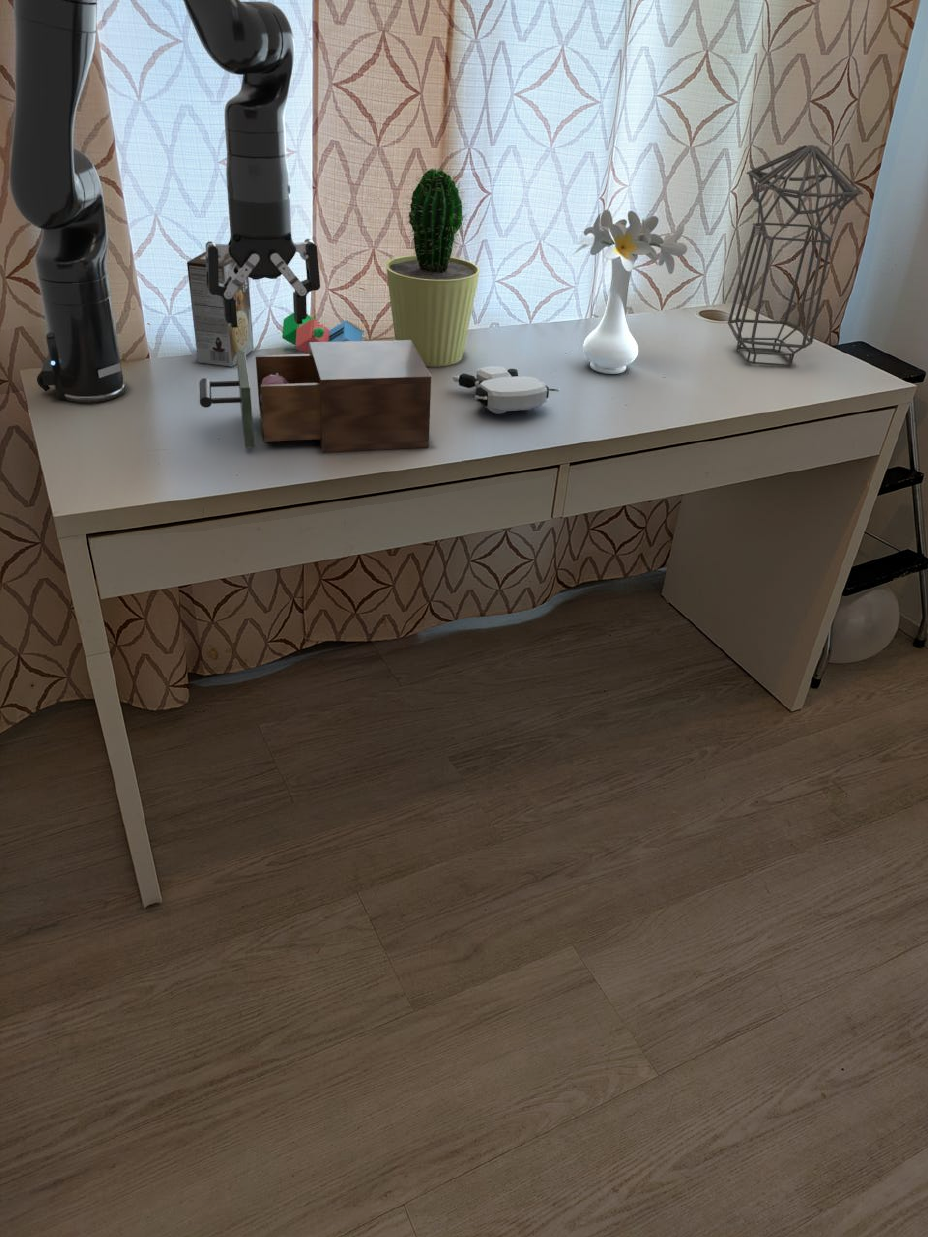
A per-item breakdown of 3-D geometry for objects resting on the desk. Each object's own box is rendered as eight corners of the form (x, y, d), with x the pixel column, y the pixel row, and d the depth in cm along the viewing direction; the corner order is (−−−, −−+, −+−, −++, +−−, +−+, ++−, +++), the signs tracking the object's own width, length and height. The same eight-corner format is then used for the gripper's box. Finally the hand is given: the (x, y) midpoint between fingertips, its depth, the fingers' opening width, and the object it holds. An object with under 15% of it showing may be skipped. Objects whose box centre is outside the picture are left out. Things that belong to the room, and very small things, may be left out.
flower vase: (675, 372, 166) (703, 218, 152) (587, 386, 158) (609, 225, 144) (629, 348, 176) (651, 200, 162) (544, 360, 168) (560, 206, 154)
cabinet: (322, 452, 133) (320, 379, 127) (311, 410, 144) (309, 342, 139) (428, 447, 136) (431, 376, 130) (409, 406, 148) (411, 339, 142)
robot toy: (447, 394, 155) (486, 424, 143) (447, 366, 152) (487, 394, 140) (516, 386, 159) (559, 415, 147) (517, 359, 157) (562, 385, 145)
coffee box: (219, 345, 165) (210, 246, 156) (254, 349, 164) (248, 251, 155) (196, 362, 158) (185, 260, 149) (233, 367, 157) (225, 265, 148)
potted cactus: (366, 349, 167) (366, 159, 150) (435, 334, 176) (443, 153, 159) (422, 377, 158) (428, 178, 141) (492, 360, 166) (506, 170, 150)
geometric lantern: (817, 376, 169) (876, 156, 149) (727, 370, 169) (774, 150, 149) (793, 346, 182) (845, 140, 162) (710, 341, 182) (751, 134, 162)
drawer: (204, 449, 129) (197, 389, 124) (202, 409, 140) (196, 352, 135) (346, 443, 133) (345, 384, 128) (334, 404, 144) (333, 349, 139)
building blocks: (315, 378, 168) (363, 350, 160) (278, 356, 162) (326, 327, 155) (318, 339, 170) (365, 311, 163) (281, 317, 165) (328, 286, 157)
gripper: (309, 186, 125) (312, 312, 134) (195, 187, 120) (207, 317, 129) (322, 199, 119) (325, 330, 128) (203, 200, 114) (215, 336, 123)
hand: (266, 324), depth 129 cm, fingers open, 8 cm apart
